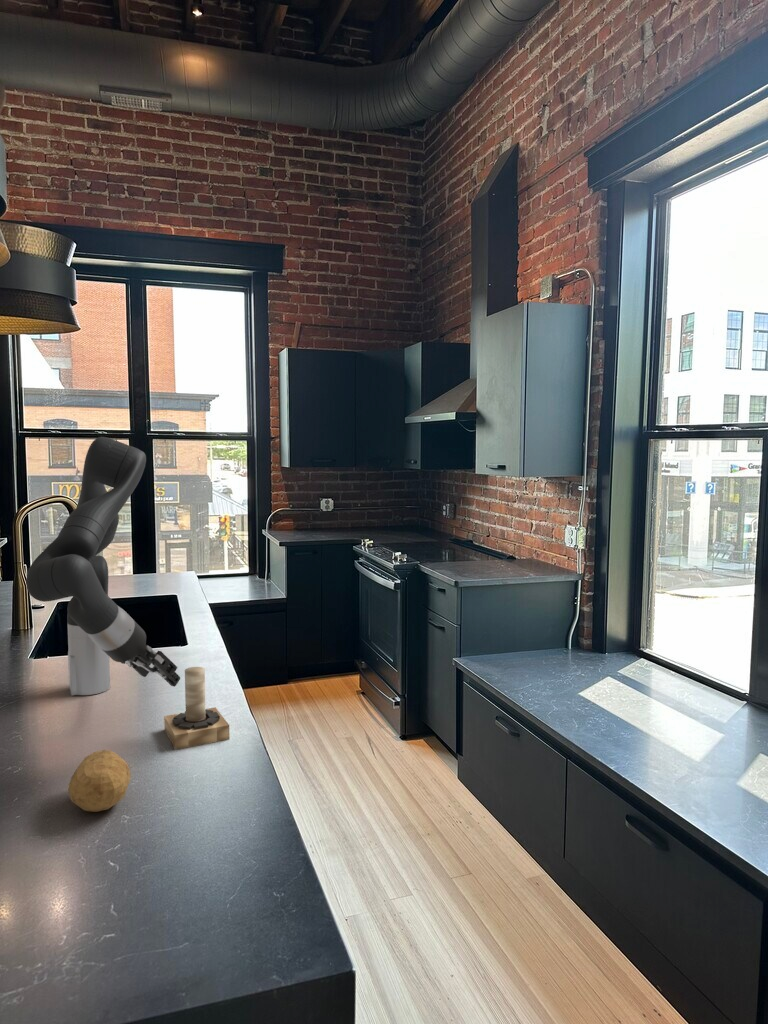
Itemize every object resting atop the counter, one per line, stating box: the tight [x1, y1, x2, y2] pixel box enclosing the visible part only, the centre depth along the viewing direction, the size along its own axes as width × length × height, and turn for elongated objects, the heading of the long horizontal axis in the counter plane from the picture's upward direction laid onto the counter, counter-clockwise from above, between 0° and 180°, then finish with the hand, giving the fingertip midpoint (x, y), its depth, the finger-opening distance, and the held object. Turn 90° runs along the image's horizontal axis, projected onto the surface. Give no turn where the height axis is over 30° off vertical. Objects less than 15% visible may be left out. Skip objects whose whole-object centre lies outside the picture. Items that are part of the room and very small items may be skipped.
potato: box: [67, 749, 132, 813], centre depth 118 cm, size 10×14×8 cm
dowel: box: [184, 666, 206, 723], centre depth 146 cm, size 4×4×14 cm
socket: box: [163, 707, 230, 750], centre depth 147 cm, size 11×11×4 cm
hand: (161, 677), depth 140 cm, fingers open, 8 cm apart
